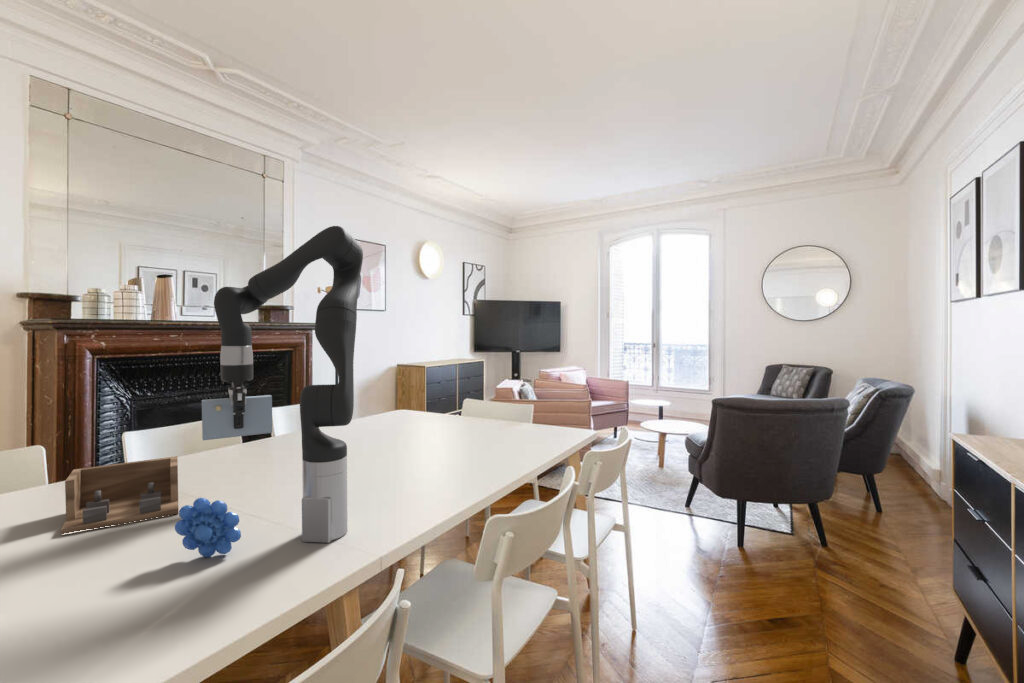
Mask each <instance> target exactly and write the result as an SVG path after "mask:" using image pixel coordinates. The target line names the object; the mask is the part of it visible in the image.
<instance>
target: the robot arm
mask: <svg viewBox="0 0 1024 683" xmlns="http://www.w3.org/2000/svg"><path fill="white" fill-rule="evenodd" d="M320 259H322V260H324V261H325V262H326V263H327V264H329V266H331V267H332V270H333V271H332V272H333V280H332V286H331V288H330V290H329V291H328V292H327V293H326V294H325V295H324V296H323V298H322V299H321V300H320V301H319V303H318V305H317V308H316V313H315V323H314V334H315V338H316V340H317V341H318V343H319V345H320V347H321V348H322V350H323V351H324V352H325V354H326V356H328V358H329V359H330V361H331V363H332V365H333V367H334V369H335V370H336V371H335V372H336V373H337V376H338V383H337V384H309V385H305V386H304V387H303V388H302V390H301V393H300V397H299V415H300V429H301V454H302V456H301V458H302V461H301V462H302V463H301V464H302V498H301V541H302V542H303V543H305V542H306V543H325V544H326V543H327V544H328V543H329V544H330V543H331V542H332V541H334V540H337V539H339V538H341V537H343V536H345V535H346V534H347V533H348V446H347V443H346V442H345V441H343V440H341V439H339V438H336V437H332V436H329V435H327V433H324V432H323V431H321V429H320V428H324V427H327V428H328V427H343V426H348V425H349V424H350V423H351V421H352V420H353V416H354V404H355V402H354V400H355V399H354V397H355V396H354V395H355V393H354V392H355V391H354V385H355V384H354V380H355V379H354V361H355V360H354V359H355V358H354V357H355V356H354V355H355V345H356V343H355V342H356V334H357V333H356V332H357V319H358V318H357V316H358V315H357V308H358V298H359V297H358V295H359V283H360V277H361V276H360V275H361V272H362V266H363V260H364V251H363V248H362V246H361V245H360V243H359V242H358V241H357V240H356V239H355V237H353V236H352V235H351V233H349V232H348V231H347V230H346V229H345V228H343V227H342V226H339V225H333V226H329V227H326V228H324V229H323V230H321V231H320V232H317V233H316V234H315V235H314V236H312V237H311V238H310V239H309V240H307V241H306V242H305V243H304V244H302V245H300V246H299V247H298V248H297V249H295V250H294V251H293V252H291V253H290V254H289V255H287V256H286V257H285V258H283V259H282V260H281V261H279V262H277V263H276V264H274V265H272V266H270V267H268V268H267V269H264V270H262V271H261V272H258V273H257V274H255V275H253V276H251V278H249V280H248V282H247V285H246V286H243V287H234V286H223V287H221V288H219V289H218V290H217V291H216V293H215V295H214V298H213V308H214V311H215V315H216V319H217V321H218V324H219V327H220V331H221V332H220V333H221V334H220V335H221V336H220V338H221V340H220V343H221V345H220V354H219V356H220V357H219V358H220V360H219V361H220V362H219V363H220V380H221V381H222V382H225V383H231V387H228V389H227V390H228V395H229V398H231V406H233V415H234V429H241V428H243V427H244V422H243V414H244V413H245V404H246V397H247V392H248V391H247V387H246V386H244V382H248V381H249V382H250V381H252V380H253V379H254V353H253V352H254V351H253V338H252V336H253V334H252V327H251V326H250V325H249V324H248V323H245V322H244V321H243V316H242V315H247V314H250V313H252V312H255V311H256V310H258V309H259V308H261V307H262V306H263V305H264V304H266V303H267V302H268V301H269V300H271V299H274V298H275V297H277V296H279V295H281V294H283V293H284V292H286V291H288V290H290V289H291V288H292V287H293V286H294V285H295V284H296V283H297V281H298V279H299V278H300V276H301V274H302V273H303V271H304V270H305V268H306V267H307V266H309V265H310V264H311V263H313V262H315V261H318V260H320ZM233 400H234V402H233ZM236 406H242V408H238V409H236Z"/></svg>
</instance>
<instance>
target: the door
mask: <svg viewBox="0 0 1024 683" xmlns="http://www.w3.org/2000/svg"><path fill="white" fill-rule="evenodd" d="M233 402H234V400H233ZM238 408H242V406H236V409H238ZM243 422H244V427H243V428H241V429H234V415H233V406H231V398H230V397H224V398H210V399H202V400H201V429H202V430H201V431H202V435H201V436H202V438H201V439H202V441H209V440H218V439H219V440H220V439H227V438H229V439H230V438H238V437H247V436H253V435H254V436H255V435H263V434H264V435H266V434H273V396H272V395H271V394H264V395H256V396H255V395H254V396H253V395H252V396H251V395H250V396H246V404H245V413H244V414H243Z"/></svg>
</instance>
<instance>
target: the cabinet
mask: <svg viewBox="0 0 1024 683" xmlns="http://www.w3.org/2000/svg"><path fill="white" fill-rule="evenodd" d="M178 463H179V462H178V456H169V457H162V458H154V459H145V460H137V461H130V462H129V461H127V462H121V463H113V464H107V465H106V464H104V465H96V466H91V467H90V466H88V467H81V468H75V469H74V468H73V470H72V471H71V473H69V475H68V477H66V479H65V481H64V486H65V489H64V491H65V492H64V494H65V497H64V498H65V522H64V523H63V525H62V527H61V529H60V535H61V534H64V533H69V532H74V531H80V530H86V529H94V528H100V527H105V526H111V525H118V524H124V523H129V522H134V521H140V520H145V519H151V518H156V517H162V516H167V517H169V516H168V515H173V514H178V515H179V472H178V469H179V468H178V466H179V465H178ZM173 516H174V515H173ZM162 518H163V517H162ZM151 520H152V519H151ZM140 522H141V521H140ZM124 525H125V524H124Z"/></svg>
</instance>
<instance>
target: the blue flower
mask: <svg viewBox="0 0 1024 683" xmlns="http://www.w3.org/2000/svg"><path fill="white" fill-rule="evenodd" d="M178 515H179V518H180V520H179V521H177V522H176V523H175V525H174V531H175V532H176V534H178V535H179V536H184V537H183V538H182V546H183V547H184V549H187V550H189V551H193V550H196V549H197V550H198V553H199V555H201V557H204V558H210V557H211V556H214V555H215V553H216V552H217V553H219V554H220V555H226V554H228V553H229V552H231V550H232V546H233V544H232V543H236V542H237V541H238V542H239V540H240V539H241V537H242V532H241V530H240V529H239V528H238V527H236V526H238V525H239V523H240V517H239V515H238V514H237V513H235V512H233V511H228V505H227V503H226V502H225V501H224V500H215V501H213V502H210V500H209V499H207V498H205V497H198V498H195V500H194V502H193V503H192V505H189V504H186V505H183V506H182V507H181V508H180V509H178Z"/></svg>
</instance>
